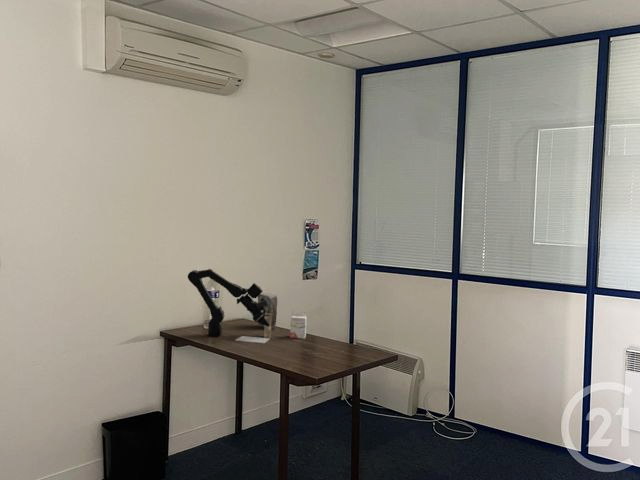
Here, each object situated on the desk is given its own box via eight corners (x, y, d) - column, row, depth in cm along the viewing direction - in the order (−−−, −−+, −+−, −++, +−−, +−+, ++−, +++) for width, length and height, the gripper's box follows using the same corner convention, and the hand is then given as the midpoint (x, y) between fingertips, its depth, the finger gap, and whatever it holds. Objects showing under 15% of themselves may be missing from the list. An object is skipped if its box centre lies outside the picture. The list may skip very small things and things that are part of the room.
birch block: (263, 338, 340) (264, 314, 339) (264, 336, 345) (265, 313, 344) (270, 338, 340) (271, 314, 339) (270, 336, 345) (271, 313, 344)
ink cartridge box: (289, 337, 342) (290, 311, 341) (291, 335, 347) (291, 310, 346) (305, 338, 342) (305, 312, 341) (306, 336, 347) (307, 310, 346)
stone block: (255, 326, 370) (256, 293, 368) (264, 324, 375) (265, 292, 373) (269, 330, 360) (270, 296, 359) (278, 328, 365) (279, 295, 364)
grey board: (235, 340, 331) (235, 339, 331) (242, 336, 340) (242, 336, 340) (263, 343, 327) (263, 342, 327) (269, 339, 337) (269, 338, 337)
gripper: (259, 296, 331) (279, 317, 332) (260, 291, 350) (279, 311, 351) (244, 311, 331) (264, 331, 333) (246, 305, 350) (265, 324, 351)
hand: (269, 324), depth 342 cm, fingers open, 9 cm apart
